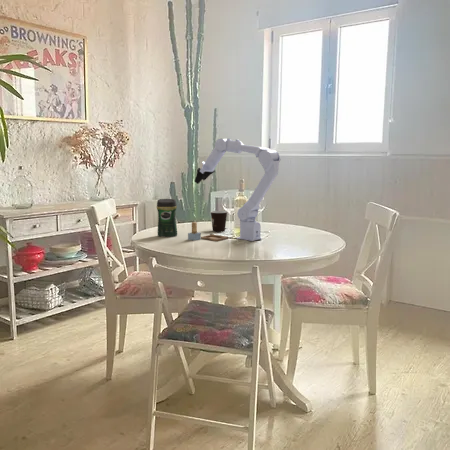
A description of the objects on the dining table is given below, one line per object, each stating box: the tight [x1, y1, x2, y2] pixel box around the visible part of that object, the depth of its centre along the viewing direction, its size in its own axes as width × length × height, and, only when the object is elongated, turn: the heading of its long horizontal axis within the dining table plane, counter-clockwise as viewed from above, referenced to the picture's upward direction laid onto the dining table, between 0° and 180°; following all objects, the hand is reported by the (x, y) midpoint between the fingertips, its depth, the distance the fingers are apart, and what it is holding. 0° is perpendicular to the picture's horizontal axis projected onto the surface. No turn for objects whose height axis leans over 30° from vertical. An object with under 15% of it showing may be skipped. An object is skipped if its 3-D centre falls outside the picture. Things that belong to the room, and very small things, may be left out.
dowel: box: [191, 221, 198, 234], centre depth 227 cm, size 2×2×8 cm
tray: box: [200, 234, 229, 242], centre depth 229 cm, size 10×8×1 cm
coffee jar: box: [156, 198, 178, 238], centre depth 236 cm, size 10×8×19 cm
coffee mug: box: [210, 210, 228, 233], centre depth 254 cm, size 12×9×10 cm
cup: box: [187, 231, 202, 241], centre depth 227 cm, size 4×4×4 cm
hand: (199, 180), depth 242 cm, fingers open, 7 cm apart
